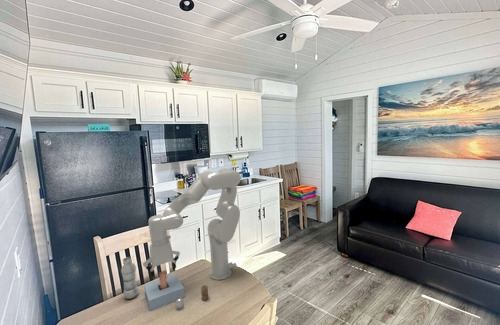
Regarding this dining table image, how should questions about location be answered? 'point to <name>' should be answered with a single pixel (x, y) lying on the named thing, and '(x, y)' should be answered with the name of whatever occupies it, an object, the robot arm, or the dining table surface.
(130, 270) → the plastic bottle
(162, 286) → the long pin
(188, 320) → the dining table surface
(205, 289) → the mid pin
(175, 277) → the hole block
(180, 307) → the short pin
